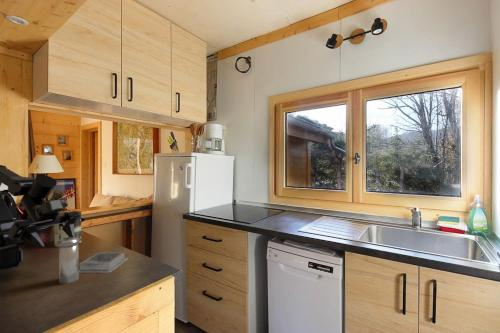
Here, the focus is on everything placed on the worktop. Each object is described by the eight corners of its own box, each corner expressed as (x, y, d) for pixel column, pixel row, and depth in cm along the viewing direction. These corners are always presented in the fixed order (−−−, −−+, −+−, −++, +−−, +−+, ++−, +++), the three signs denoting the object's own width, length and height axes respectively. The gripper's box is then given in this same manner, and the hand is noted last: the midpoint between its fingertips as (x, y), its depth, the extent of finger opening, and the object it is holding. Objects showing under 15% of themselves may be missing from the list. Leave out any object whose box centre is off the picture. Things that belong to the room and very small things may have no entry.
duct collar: (75, 272, 84) (75, 264, 84) (97, 258, 96) (97, 251, 96) (110, 272, 84) (110, 264, 84) (127, 258, 96) (127, 251, 96)
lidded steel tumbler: (57, 286, 74) (56, 243, 74) (58, 278, 79) (57, 238, 79) (80, 280, 78) (79, 240, 77) (80, 274, 82) (79, 235, 82)
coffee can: (75, 238, 122) (75, 210, 121) (85, 242, 116) (85, 212, 116) (50, 244, 113) (50, 214, 113) (59, 248, 107) (59, 216, 107)
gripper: (12, 194, 73) (36, 235, 69) (76, 188, 90) (98, 220, 87) (-2, 219, 76) (20, 259, 72) (62, 209, 93) (83, 240, 89)
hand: (59, 243), depth 80 cm, fingers open, 9 cm apart
